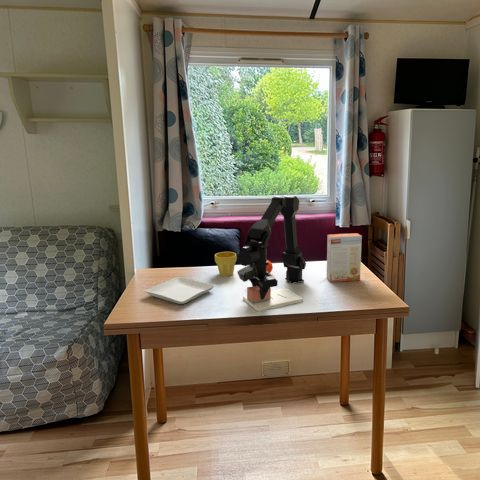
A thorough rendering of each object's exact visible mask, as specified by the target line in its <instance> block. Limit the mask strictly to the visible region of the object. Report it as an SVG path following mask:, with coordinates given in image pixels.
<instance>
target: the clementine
mask: <svg viewBox="0 0 480 480" xmlns="http://www.w3.org/2000/svg"><path fill="white" fill-rule="evenodd" d="M267 262H269V265H267V272H269V274H271V273H272V272H273V268H274V267H273V263H272V262H271V261H270V260H268V259H267Z"/></svg>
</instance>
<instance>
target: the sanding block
mask: <svg viewBox="0 0 480 480" xmlns="http://www.w3.org/2000/svg"><path fill="white" fill-rule="evenodd" d="M271 288H272V287H270V288H269V290H268V292H267V294H266V296H265V298H264V299H263V300H261V297H260V290H259V287H258V286H252V285H251V286H248V287H246V296H247V300H249V301H250V302H251V303H257V302H262V301H267V300H271V291H272V289H271Z"/></svg>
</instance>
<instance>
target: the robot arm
mask: <svg viewBox="0 0 480 480" xmlns="http://www.w3.org/2000/svg"><path fill="white" fill-rule="evenodd" d="M270 201H271V202H270V203H269V204H268V207H267V208H266V210H265V212H264V213H263V215H262V217H261V218H260V219H259V220H258V221H256V222H254V223H253V224H252V225H251V226H250V228H249V229H248V231H247V235H246V238H245V240H244V243H243V247H241V251H240V252H239V253H238V255H237V261H238V263H239V264H240V265H241V266H244V267H243V268H241V269H239V270H237V276H238V278H239V279H240V280H241V281H242V282H248V281H249V282H250V283H251V287H252V286H258V287H259V290H260V297H261V300H263V299H264V298H265V296H266V294H267V292H268V290H269V288H274V287H278V283H279V282H278V279H276V278H275V277H273V276H271V275H269V274H270V273H269V272H267V265H269V262H267V260H268V259H267V247H268V246H270V243H269V242H268V241H269V240H270V237H271V236H272V230H271V229H272V227H273V225H274V223H275V221H276V219H277V218H278V217H279V216H278V215H280V213H281V215H282V217H283V221H284V222H283V224H284V225H283V226H284V237H285V250H283V252H282V263H283V267H284V268H286V271H285V278H284V280H285V281H288V283H290V284H296V283H301V282H302V283H303V282H305V280H304V279H303V271H304V270H305V269H306V266H307V265H306V264H307V261H305V259H304V257H303V252H302V250H301V249H300V248H299V246H298V237H297V236H298V235H297V221H296V215H297V213H298V211H299V208H300V207H299V206H300V199H299V198H298V196H295V195H281V196H278V195H277V196H273V197H271V200H270Z"/></svg>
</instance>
